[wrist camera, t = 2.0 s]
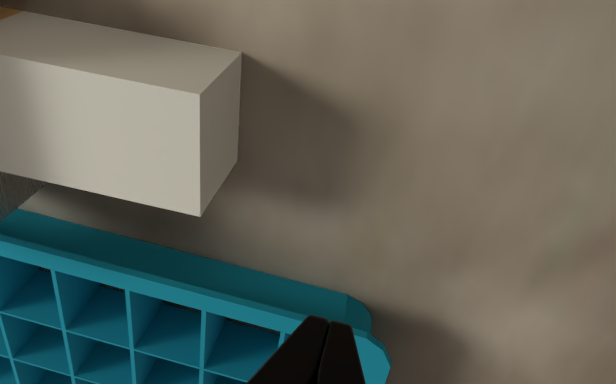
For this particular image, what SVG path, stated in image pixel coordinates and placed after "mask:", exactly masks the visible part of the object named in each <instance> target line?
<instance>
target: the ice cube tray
mask: <svg viewBox="0 0 616 384" xmlns="http://www.w3.org/2000/svg"><path fill="white" fill-rule="evenodd" d="M39 266H40V267H43V268H47V269H50V270H51V273H50V272H47V271H43V270H39ZM100 283H103V284H106V285H110V286H114V287H117V288H121V289H125V293H124V292H120V291H116V290H113V289H109V288H105V287H102V286H100ZM162 300H165V301H169V302H173V303H176V304H180V305H184V306H188V307H191V308H195V309H199V310H202V312H201V313H197V312H194V311H190V310H186V309H183V308H179V307H175V306H172V305H168V304H164V303H162ZM309 315H314V316H318V317H322V318H326V319H328V320H329V324H330V322H331V321H338V322H342V323H346V324H349V325H351V327H352V329H353V333H354V337H355V341H356V345H357V350H358V354H359V358H360V362H361V366H362V370H363V374H364V378H365V382H366V384H385V382H386V379H387V376H388V373H389V371H390V368H391V359H390V357H389V354H388V352H387V350H386V348H385V345H384V344H383V343H382V342H380V341H379V340H378V339H376V338H375V337H374V336H372V335H371V315H370V313H369V312H368V310H367V309H366V307H365V306H364V304H363V303H361V302H359V301H358V300H356V299H354V298H352V297H351V296H349V295H347V294H343V293H339V292H336V291H332V290H328V289H324V288H320V287H316V286H313V285H309V284H305V283H301V282H297V281H293V280H290V279H286V278H282V277H278V276H274V275H270V274H267V273H263V272H259V271H255V270H251V269H247V268H244V267H240V266H236V265H232V264H228V263H224V262H221V261H217V260H213V259H209V258H205V257H201V256H198V255H194V254H190V253H186V252H182V251H178V250H175V249H171V248H167V247H163V246H159V245H155V244H151V243H148V242H144V241H140V240H136V239H132V238H128V237H125V236H121V235H117V234H113V233H109V232H105V231H102V230H98V229H94V228H90V227H86V226H82V225H79V224H75V223H71V222H67V221H63V220H59V219H56V218H52V217H48V216H44V215H40V214H36V213H33V212H29V211H25V210H21V209H16V210H14V211H13V212H12V213H11V214H10V215H8V216H7V217H6V218H5V219H4V220H3V221H1V222H0V384H246V383H247V381H248V380H249V379H250V378H251V377H252V376H253V375H254V374H255V373H256V372H257V371H258V370H259V368H260V367H261V366H262V365H263V364H264V363H265V362H266V361H267V360H268V359H269V358H270V356H271V355H272V354H273V353H274V352H275V351H276V350H277V349H278V348H279V347H280V346H281V344H282V343H283V342H284V341H285V340H286V339H287V338H288V337H289V336H290V335H291V334H292V333H293V331H294V330H295V329H296V328H297V327H298V326H299V325H300V324H301V323H302V322H303V321H304V319H305V318H306V317H308V316H309ZM226 317H228V318H232V319H236V320H239V321H243V322H247V323H250V324H254V325H258V326H261V327H265V328H269V329H273V330H276V331H280V332H281V333H280V335H278V334H275V333H271V332H267V331H264V330H260V329H256V328H253V327H249V326H245V325H241V324H238V323H234V322H230V321H227V320H226Z"/></svg>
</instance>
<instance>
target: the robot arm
mask: <svg viewBox="0 0 616 384" xmlns="http://www.w3.org/2000/svg"><path fill="white" fill-rule="evenodd" d="M246 384H366V382H365V378H364V374H363V370H362V366H361V362H360V358H359V354H358V350H357V345H356V341H355V337H354V333H353V329H352V327H351V325H349V324H346V323H342V322H338V321H331V322H330V324H329V320H328V319H326V318H322V317H318V316H314V315H309V316H308V317H306V318H305V319H304V321H303V322H302V323H301V324H300V325H299V326H298V327H297V328H296V329H295V330H294V331H293V333H292V334H291V335H290V336H289V337H288V338H287V339H286V340H285V341H284V342H283V343H282V344H281V346H280V347H279V348H278V349H277V350H276V351H275V352H274V353H273V354H272V355H271V356H270V358H269V359H268V360H267V361H266V362H265V363H264V364H263V365H262V366H261V367H260V368H259V370H258V371H257V372H256V373H255V374H254V375H253V376H252V377H251V378H250V379H249V380H248V381H247V383H246Z"/></svg>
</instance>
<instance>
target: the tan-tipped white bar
mask: <svg viewBox="0 0 616 384" xmlns="http://www.w3.org/2000/svg"><path fill="white" fill-rule="evenodd" d="M241 62H242V52H239V51H233V50H228V49H223V48H218V47H212V46H207V45H202V44H196V43H191V42H186V41H181V40H175V39H170V38H165V37H159V36H154V35H149V34H143V33H138V32H133V31H128V30H122V29H117V28H112V27H106V26H101V25H96V24H90V23H85V22H80V21H75V20H69V19H64V18H59V17H53V16H48V15H43V14H37V13H32V12H27V11H22V10H16V9H11V8H6V7H0V171H1V172H6V173H10V174H14V175H19V176H23V177H27V178H32V179H36V180H41V181H45V182H49V183H54V184H58V185H63V186H67V187H71V188H76V189H80V190H84V191H89V192H93V193H98V194H102V195H106V196H111V197H115V198H119V199H124V200H128V201H133V202H137V203H141V204H146V205H150V206H154V207H159V208H163V209H168V210H172V211H176V212H181V213H185V214H189V215H194V216H198V217H201V215H202V214H203V212H204V211H205V209H206V208H207V206H208V205H209V203H210V202H211V200H212V199H213V197H214V196H215V194H216V193H217V191H218V190H219V188H220V187H221V185H222V183H223V182H224V180H225V179H226V177H227V176H228V174H229V173H230V171H231V170H232V168H233V167H234V165H235V164H236V162H237V158H238V134H239V110H240V86H241Z"/></svg>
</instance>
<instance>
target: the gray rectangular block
mask: <svg viewBox="0 0 616 384" xmlns="http://www.w3.org/2000/svg"><path fill="white" fill-rule="evenodd" d="M46 183H48V182H45V181H41V180H36V179H32V178H27V177H23V176H19V175H14V174H10V173H6V172H1V171H0V222H1V221H3V220H4V219H5V218H6V217H7V216H8V215H10V214H11V213H12V212H13V211H14V210H16V209H17V208H18V207H19V206H20V205H22V204H23V203H24V202H25V201H26V200H27V199H29V198H30V197H31V196H32V195H33V194H35V193H36V192H37V191H38V190H39V189H41V188H42V187H43V186H44V185H45V184H46Z"/></svg>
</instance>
